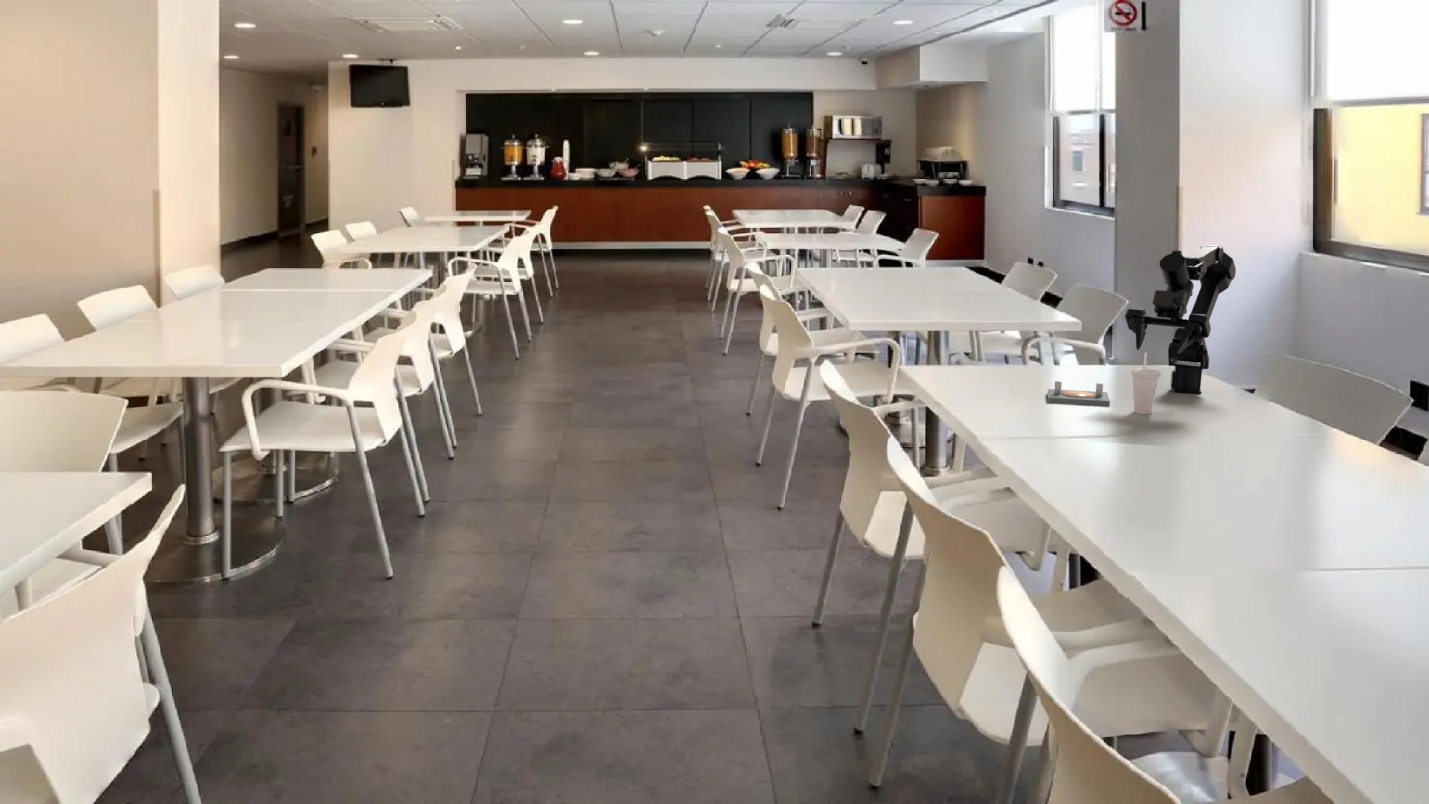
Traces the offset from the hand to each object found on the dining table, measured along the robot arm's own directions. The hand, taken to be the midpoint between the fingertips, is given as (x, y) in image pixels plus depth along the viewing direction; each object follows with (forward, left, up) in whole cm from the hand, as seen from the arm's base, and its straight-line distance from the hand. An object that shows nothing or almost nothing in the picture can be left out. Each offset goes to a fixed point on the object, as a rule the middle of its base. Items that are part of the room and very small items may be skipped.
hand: (1157, 350), depth 285 cm
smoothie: (+3, +7, -14) cm, 16 cm away
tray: (+17, -3, -13) cm, 22 cm away
